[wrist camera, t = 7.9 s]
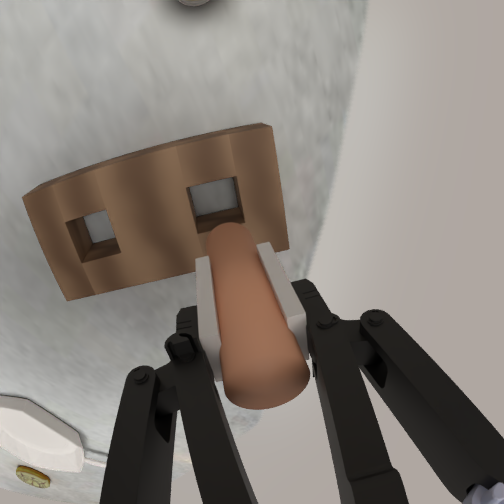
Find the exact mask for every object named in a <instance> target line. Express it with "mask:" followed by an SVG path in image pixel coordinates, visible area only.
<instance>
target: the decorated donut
mask: <svg viewBox="0 0 504 504" xmlns="http://www.w3.org/2000/svg"><path fill="white" fill-rule="evenodd" d="M16 475H17V477H18V478H19V479H21V480H22V481H23V482H25V483H27V484H29V485H32V486H35V487H38V488H48V487H50V479H49V478H48V477H47V476H46V475H44V474H43V473H41V472H38V471H37V470H34V469H32V468H29V467H26V466H20V467H18V468H17V469H16Z"/></svg>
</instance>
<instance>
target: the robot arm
mask: <svg viewBox="0 0 504 504" xmlns="http://www.w3.org/2000/svg"><path fill="white" fill-rule="evenodd" d="M256 247H257V253H258V256H259V258H260V261H261V263H262V265H263V268H264V270H265V273H266V275H267V278H268V280H269V282H270V285H271V287H272V290H273V292H274V295H275V297H276V299H277V302H278V304H279V307H280V309H281V312H282V314H283V316H284V319H285V321H286V324H287V326H288V328H289V329H290V330H291V331H292V332H293V333H294V335H295V337H296V339H297V342H298V344H299V346H300V349H301V351H302V353H303V356H304V358H305V360H308V359H309V353H310V356H311V358H312V368H313V377H315V380H316V384H317V389H318V393H319V398H320V402H321V407H322V411H323V416H324V420H325V425H326V429H327V435H328V440H329V444H330V449H331V454H332V459H333V464H334V468H335V473H336V478H337V484H338V489H339V494H340V500H341V504H409V503H408V499H407V496H406V492H405V489H404V485H403V482H402V479H401V477H400V474H399V472H398V471H397V470H396V469H395V468H393V467H392V465H391V462H390V459H389V456H388V452H387V449H386V446H385V443H384V440H383V437H382V434H381V430H380V427H379V424H378V421H377V418H376V415H375V412H374V409H373V406H372V403H371V401H370V398H369V395H368V392H367V389H366V386H365V383H364V381H363V378H362V375H361V372H360V369H361V371H362V372H363V373H364V374H365V376H366V377H367V379H368V380H369V382H370V383H371V384H372V386H373V387H374V388H375V390H376V391H377V392H378V394H379V395H380V397H381V398H382V399H383V401H384V402H385V403H386V405H387V406H388V407H389V408H390V410H391V412H392V413H393V414H394V416H395V417H396V419H397V420H398V421H399V423H400V424H401V425H402V427H403V428H404V430H405V431H406V432H407V434H408V435H409V437H410V438H411V439H412V441H413V442H414V444H415V445H416V446H417V448H418V449H419V451H420V452H421V453H422V455H423V456H424V458H425V459H426V460H427V462H428V463H429V464H430V466H431V467H432V469H433V470H434V472H435V473H436V475H437V476H438V477H439V479H440V480H441V482H442V483H443V484H444V486H445V487H446V488H447V489H448V491H449V492H450V493H451V494H452V495H453V496H454V497H455V498H456V499H458V500H459V501H460V502H462V504H504V439H503V437H502V436H501V435H500V434H499V432H498V431H497V430H496V429H495V428H494V427H493V425H492V424H491V423H490V422H489V421H488V420H487V419H486V417H485V416H484V415H483V414H482V413H481V412H480V411H479V410H478V408H477V407H476V406H475V405H474V404H473V403H472V402H471V400H470V399H469V398H468V397H467V396H466V395H465V394H464V393H463V392H462V390H460V389H459V387H458V386H457V385H456V384H455V383H454V382H453V381H452V380H451V378H450V377H449V376H448V375H447V374H446V373H445V372H444V371H443V370H442V369H441V368H440V367H439V366H438V365H437V363H436V362H435V361H434V360H433V359H432V358H431V357H430V356H429V355H428V354H427V353H426V352H425V351H424V350H423V349H422V348H421V347H420V346H419V345H418V344H417V343H416V342H415V341H414V340H413V339H412V337H411V336H410V335H409V334H408V333H407V332H406V331H405V330H403V328H402V327H401V326H400V325H399V324H398V323H397V322H396V321H395V320H394V319H393V318H392V317H391V316H390V315H389V314H388V313H386V312H385V311H382V310H378V309H376V310H375V309H373V310H368V311H366V312H365V313H363V314H362V316H361V317H360V320H342V319H340V318H339V316H337V315H335V314H333V313H331V312H330V310H329V309H328V307H327V305H326V303H325V302H324V300H323V299H322V297H321V296H320V293H319V292H318V291H317V289H316V287H315V285H314V284H313V283H312V282H310V281H309V280H307V279H302V280H298V281H294V282H290V281H289V279H288V277H287V275H286V273H285V271H284V269H283V267H282V265H281V263H280V261H279V259H278V258H277V256H276V254H275V252H274V250H273V248H272V246H271V244H270V242H266V243H261V244H257V245H256ZM195 262H196V290H197V305H196V306H191V307H187V308H182V309H180V311H179V313H178V315H177V319H176V324H177V325H176V330H177V331H176V333H175V334H172V335H171V336H170V337H169V338H168V339H167V340H166V342H165V346H164V347H165V349H166V351H167V353H168V355H169V357H170V359H171V361H170V362H169V363H168V364H166V365H164V366H163V367H160V368H158V369H156V370H154V369H153V368H152V367H150V366H144V365H143V366H139V367H136V368H135V369H133V370H132V371H131V372H130V373H129V374H128V376H127V378H126V382H125V385H124V389H123V393H122V397H121V401H120V405H119V409H118V413H117V418H116V422H115V426H114V431H113V435H112V440H111V444H110V449H109V454H108V459H107V464H106V469H105V474H104V480H103V485H102V491H101V497H100V503H99V504H170V495H171V494H170V493H171V480H172V466H173V453H174V441H175V430H176V419H177V411H178V410H180V411H181V416H182V421H183V426H184V430H185V435H186V439H187V444H188V448H189V452H190V456H191V460H192V465H193V468H194V472H195V476H196V480H197V484H198V488H199V491H200V495H201V498H202V502H203V504H258V502H257V499H256V497H255V495H254V492H253V489H252V487H251V484H250V482H249V479H248V477H247V474H246V472H245V469H244V466H243V463H242V461H241V458H240V455H239V452H238V450H237V447H236V444H235V441H234V438H233V435H232V432H231V430H230V427H229V424H228V421H227V418H226V415H225V412H224V409H223V406H222V403H221V400H220V397H219V394H218V390H217V388H216V386H215V382H214V378H215V381H216V382H218V381H223V378H222V372H221V365H220V358H219V352H220V348H221V345H222V344H221V337H220V330H219V323H218V316H217V308H216V301H215V293H214V285H213V277H212V269H211V263H210V259H209V256H205V257H201V258H196V259H195ZM359 368H360V369H359Z"/></svg>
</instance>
